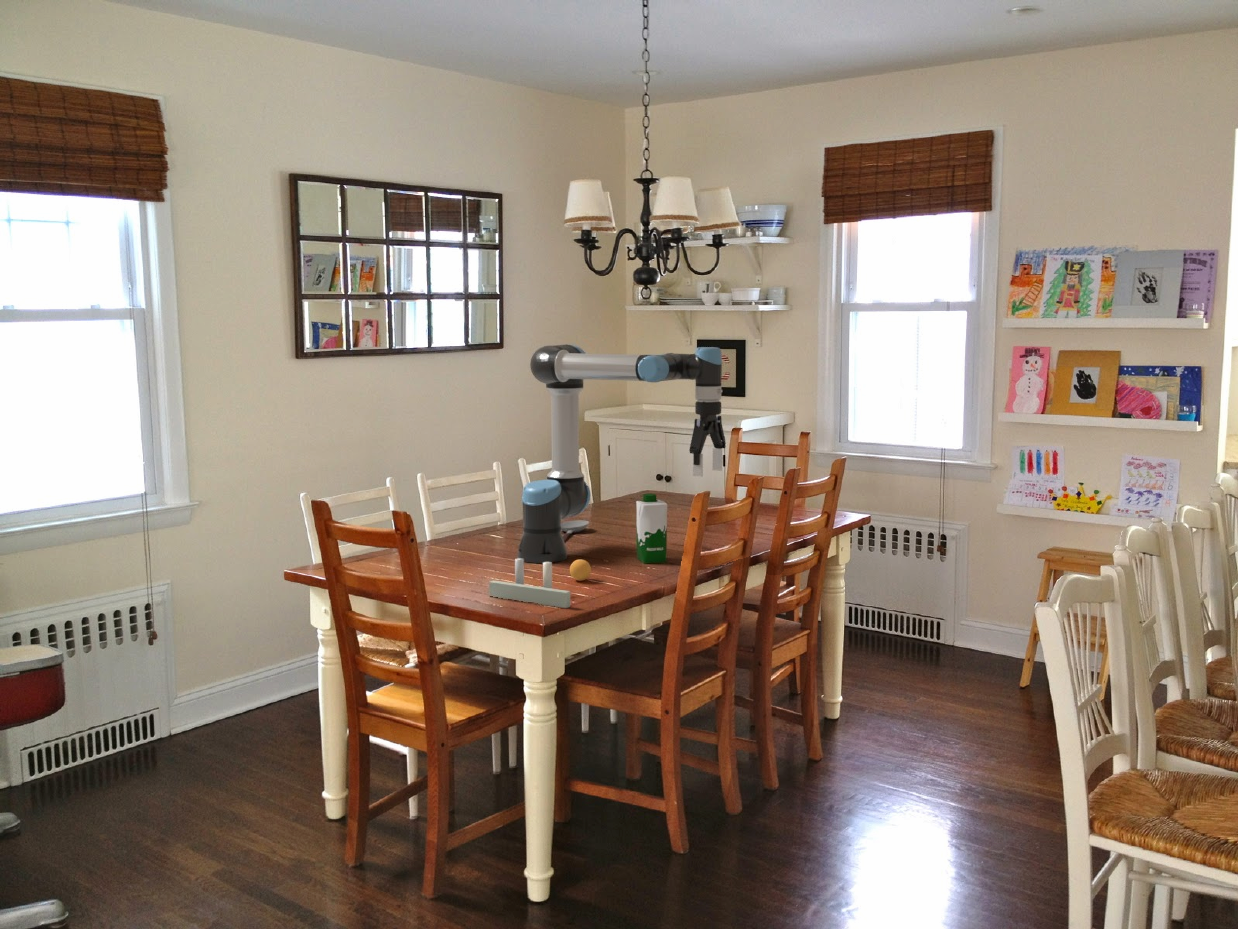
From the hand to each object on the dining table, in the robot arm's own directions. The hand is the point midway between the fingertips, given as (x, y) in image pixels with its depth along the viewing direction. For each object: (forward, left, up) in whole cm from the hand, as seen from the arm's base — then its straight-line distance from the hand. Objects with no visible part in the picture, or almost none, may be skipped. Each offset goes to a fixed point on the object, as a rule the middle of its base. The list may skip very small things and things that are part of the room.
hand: (707, 473), depth 322 cm
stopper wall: (-24, -58, -28) cm, 69 cm away
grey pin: (-33, -49, -28) cm, 66 cm away
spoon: (-59, +17, -29) cm, 68 cm away
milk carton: (-18, 0, -28) cm, 34 cm away
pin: (-24, -49, -28) cm, 62 cm away
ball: (-24, -32, -25) cm, 47 cm away
